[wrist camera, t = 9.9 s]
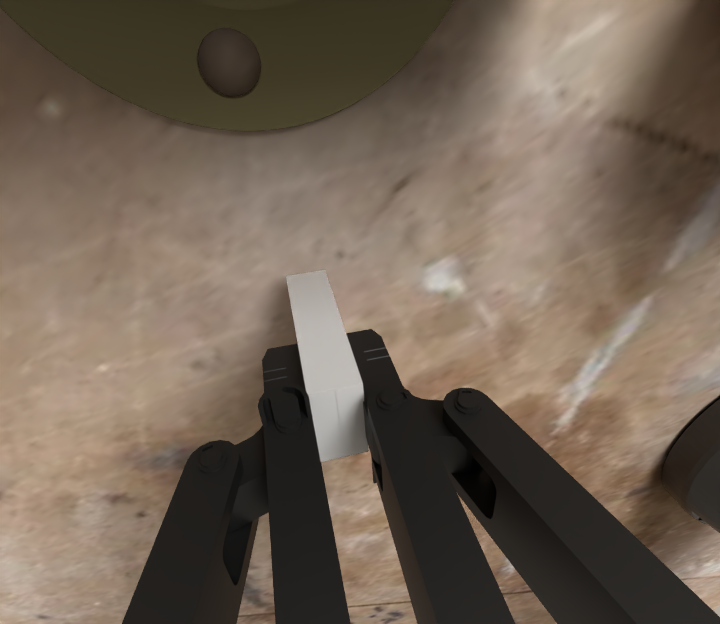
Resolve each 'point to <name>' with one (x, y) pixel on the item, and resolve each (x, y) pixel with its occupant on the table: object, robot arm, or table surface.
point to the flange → (256, 21)
